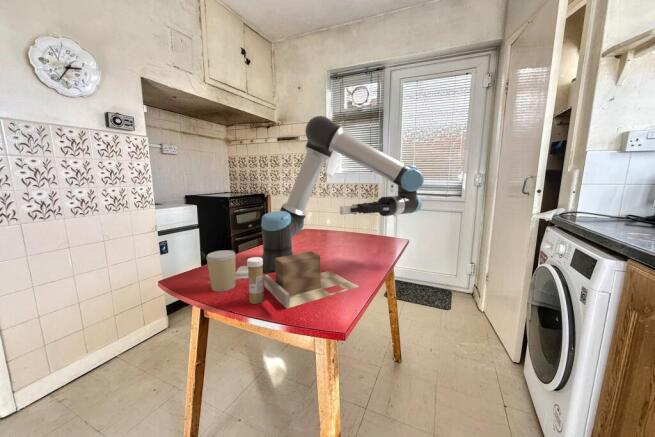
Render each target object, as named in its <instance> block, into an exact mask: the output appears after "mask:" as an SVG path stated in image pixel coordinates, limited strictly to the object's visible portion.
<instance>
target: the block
mask: <svg viewBox="0 0 655 437" xmlns="http://www.w3.org/2000/svg"><path fill="white" fill-rule="evenodd" d="M293 254H294V255H289V256H283V257H278V258H275V272H274V273H275V282H276V283H277V284H278V285H280V286H281V287H282V288H283V289H284V290H285V291H286V292H288V293H289V295H290V296H294V295H297V294H301V293H305V292H308V291H312V290H315V289H319V288H321V274H320V273H321V255H320V254H318V253H315V252H313V251H310V250H309V251H305V252H300V253H296V254H295V253H293Z"/></svg>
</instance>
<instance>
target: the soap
mask: <svg viewBox="0 0 655 437" xmlns="http://www.w3.org/2000/svg"><path fill="white" fill-rule="evenodd" d="M247 278H249V275H248V266H247V265H241V266H239V267H238V268H237V270H236V274H235V280H241V279H244V280H248V279H247Z"/></svg>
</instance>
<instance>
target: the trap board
mask: <svg viewBox="0 0 655 437" xmlns="http://www.w3.org/2000/svg"><path fill="white" fill-rule="evenodd" d="M320 274H321V288H319V289H315V290H312V291H308V292H305V293H301V294H297V295H294V296H290V295H289V293H288V292H286V291H285V290H284V289H283V288H282V287H281V286H280V285H278V284H277V283H276V280H274V279H273V278H271V276H269V275H268V274H263V283H264V288H265V289H266V290H267V291H268V292H269V293H270V294H272V296H273V297H274V298H275V299H276V300H277V301H278V302H279V303H280V304H282V306H283V307H284V308H285V309H286V310H287V309H291V308H294V307H296V306H300V305H305V304H307V303H309V302H311V303H312V302H313V301H317V300H320V299H324V298H328V297H330V296H333V295H337V294H339V293H340V294H341V293H343V292H346V291H349V290H353V289H356V288H359V287H360V286H359V285H357V284H356V283H353V282H351V281H350V280H348V279H345V278H344V277H343V276H340V275H338V274H337V273H335V272H332V271H331V270H327V271H323V272H320ZM335 286H339V287H341V288H342V290H338V291H334V292H331V293H330V292H328V291H327V290H326V289H328V288H332V287H335Z"/></svg>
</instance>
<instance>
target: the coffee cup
mask: <svg viewBox="0 0 655 437" xmlns="http://www.w3.org/2000/svg"><path fill="white" fill-rule="evenodd" d="M205 258H206V261H207V268H208V276H209V280H210V287H211V290H212V291H213V292H219V293H220V292H226V291H230V290H232V289H234V288H235V287H236V279H235V274H236V271H237V270H236V269H237V268H236V267H237V266H236V265H237V264H236V252H235V251H234V250H231V249H229V250H227V249H226V250H215V251H213V252H212V251H211V252H209V253H208V254H207V255H206V257H205Z"/></svg>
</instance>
